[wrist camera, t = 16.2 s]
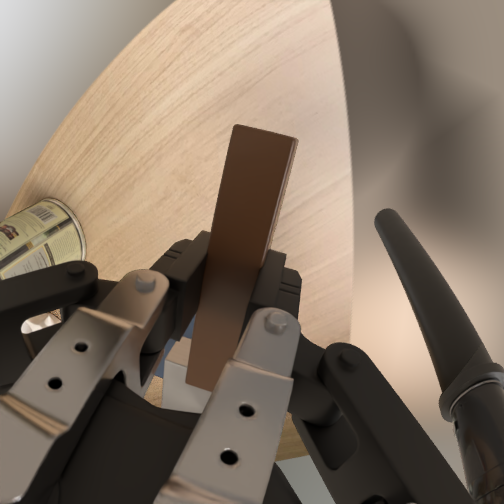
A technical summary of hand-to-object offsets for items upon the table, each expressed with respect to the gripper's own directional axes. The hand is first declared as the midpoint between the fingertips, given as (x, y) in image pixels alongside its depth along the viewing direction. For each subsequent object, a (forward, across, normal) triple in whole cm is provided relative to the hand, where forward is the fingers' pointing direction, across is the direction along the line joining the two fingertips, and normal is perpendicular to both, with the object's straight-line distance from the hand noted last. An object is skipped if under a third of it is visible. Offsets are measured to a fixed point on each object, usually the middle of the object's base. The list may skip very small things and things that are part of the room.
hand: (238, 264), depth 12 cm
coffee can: (+17, +25, +13) cm, 33 cm away
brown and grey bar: (+1, 0, +4) cm, 4 cm away
